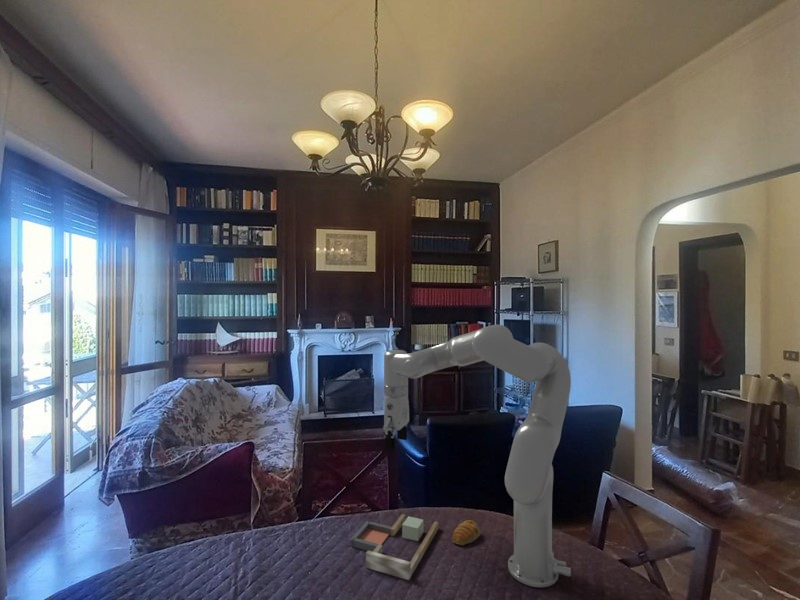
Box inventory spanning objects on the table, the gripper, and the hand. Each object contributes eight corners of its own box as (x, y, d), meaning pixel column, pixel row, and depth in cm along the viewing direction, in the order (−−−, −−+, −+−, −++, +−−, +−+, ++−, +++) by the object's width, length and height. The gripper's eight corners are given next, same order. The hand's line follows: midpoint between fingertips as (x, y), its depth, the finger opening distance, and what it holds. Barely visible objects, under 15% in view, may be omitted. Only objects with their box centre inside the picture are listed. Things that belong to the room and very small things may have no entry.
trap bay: (392, 533, 124) (391, 526, 124) (376, 553, 115) (376, 546, 115) (367, 527, 128) (367, 520, 128) (350, 546, 118) (350, 539, 118)
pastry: (466, 550, 116) (466, 537, 116) (446, 542, 120) (446, 529, 120) (482, 535, 123) (482, 523, 123) (463, 527, 127) (462, 515, 127)
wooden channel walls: (438, 528, 126) (438, 515, 126) (408, 580, 104) (408, 564, 104) (402, 520, 131) (401, 507, 131) (366, 567, 109) (365, 552, 109)
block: (423, 532, 125) (423, 519, 125) (417, 541, 120) (417, 528, 120) (408, 528, 127) (408, 516, 127) (402, 537, 122) (402, 524, 122)
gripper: (396, 398, 117) (396, 456, 118) (416, 385, 133) (416, 436, 134) (373, 395, 120) (373, 453, 120) (395, 383, 136) (395, 433, 136)
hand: (396, 444), depth 127 cm, fingers open, 9 cm apart
